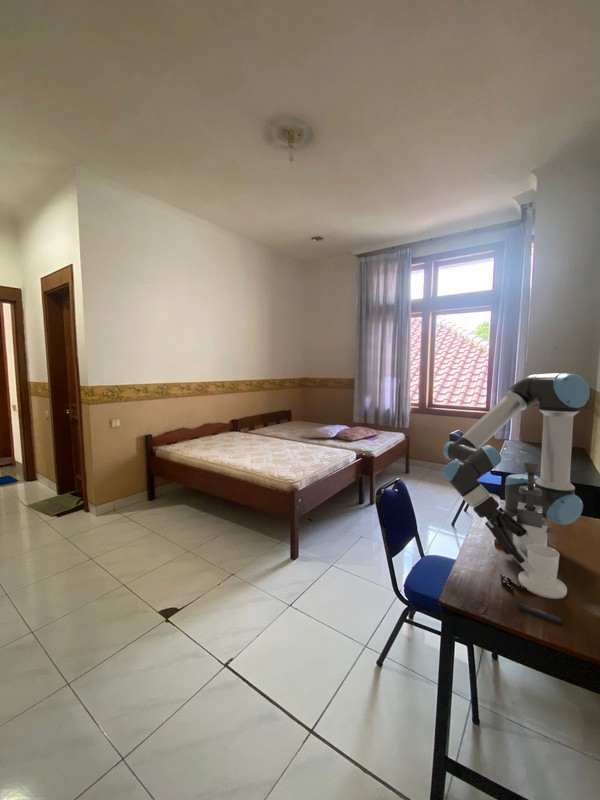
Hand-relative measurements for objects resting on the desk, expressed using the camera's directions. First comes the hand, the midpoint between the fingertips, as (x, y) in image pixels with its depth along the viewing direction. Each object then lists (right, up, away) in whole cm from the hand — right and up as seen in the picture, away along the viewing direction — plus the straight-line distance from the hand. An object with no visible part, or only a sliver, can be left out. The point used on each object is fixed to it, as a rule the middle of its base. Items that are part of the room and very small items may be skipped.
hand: (535, 562), depth 101 cm
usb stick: (-7, -9, -12) cm, 17 cm away
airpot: (+7, -6, +14) cm, 17 cm away
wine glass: (+7, +12, +12) cm, 19 cm away
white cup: (+2, -6, 0) cm, 6 cm away
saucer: (+2, -7, 0) cm, 7 cm away
